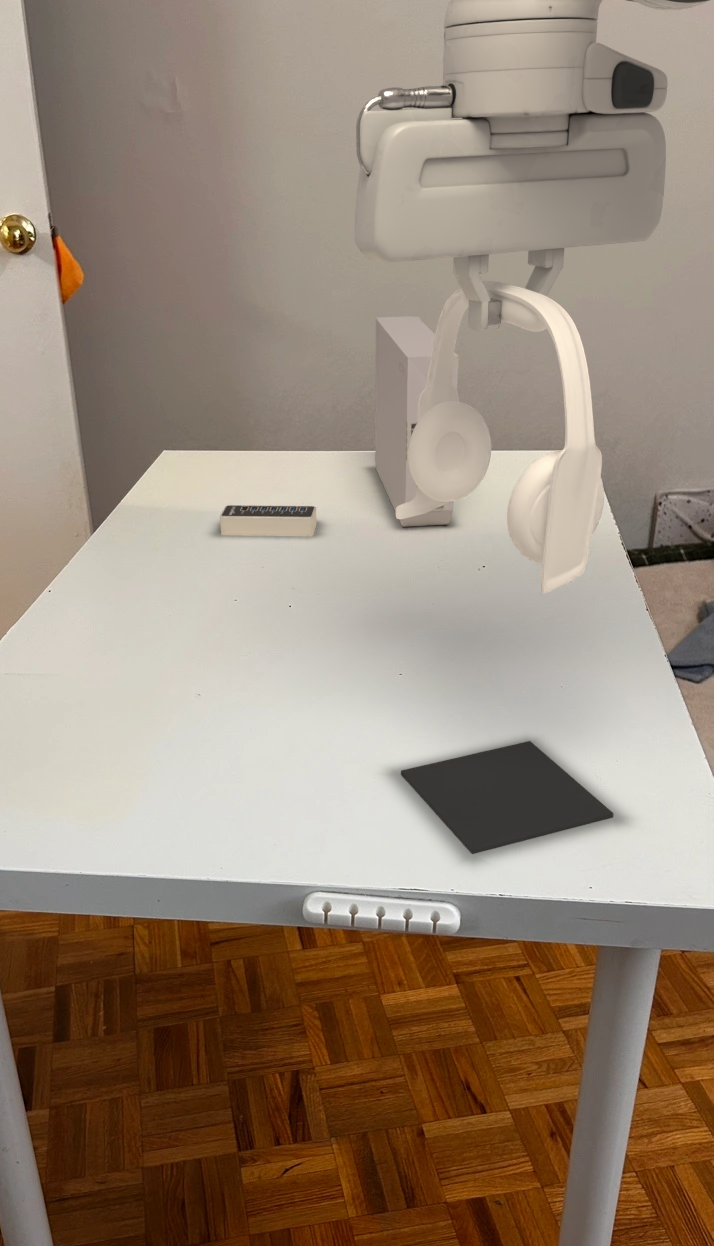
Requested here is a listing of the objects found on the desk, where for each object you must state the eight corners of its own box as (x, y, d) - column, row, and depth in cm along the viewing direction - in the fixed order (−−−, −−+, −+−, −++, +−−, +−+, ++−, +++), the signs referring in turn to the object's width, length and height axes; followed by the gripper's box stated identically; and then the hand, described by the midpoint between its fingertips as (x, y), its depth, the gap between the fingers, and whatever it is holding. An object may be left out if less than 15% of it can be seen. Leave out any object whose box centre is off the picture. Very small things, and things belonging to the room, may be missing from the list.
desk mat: (529, 745, 85) (530, 740, 85) (613, 817, 76) (613, 813, 76) (400, 774, 82) (400, 770, 82) (472, 854, 73) (472, 849, 73)
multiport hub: (313, 536, 129) (312, 517, 128) (220, 535, 130) (219, 516, 129) (316, 524, 133) (316, 505, 132) (226, 523, 134) (225, 504, 133)
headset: (615, 586, 72) (644, 298, 64) (520, 604, 70) (537, 309, 62) (471, 503, 89) (479, 265, 81) (391, 516, 87) (390, 273, 78)
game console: (416, 466, 153) (420, 315, 144) (454, 531, 129) (461, 355, 120) (375, 468, 153) (375, 317, 143) (404, 534, 129) (407, 357, 119)
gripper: (378, 86, 60) (379, 350, 67) (692, 76, 66) (664, 318, 73) (335, 90, 65) (340, 334, 72) (629, 80, 71) (609, 306, 78)
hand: (505, 326), depth 72 cm, fingers closed on headset
